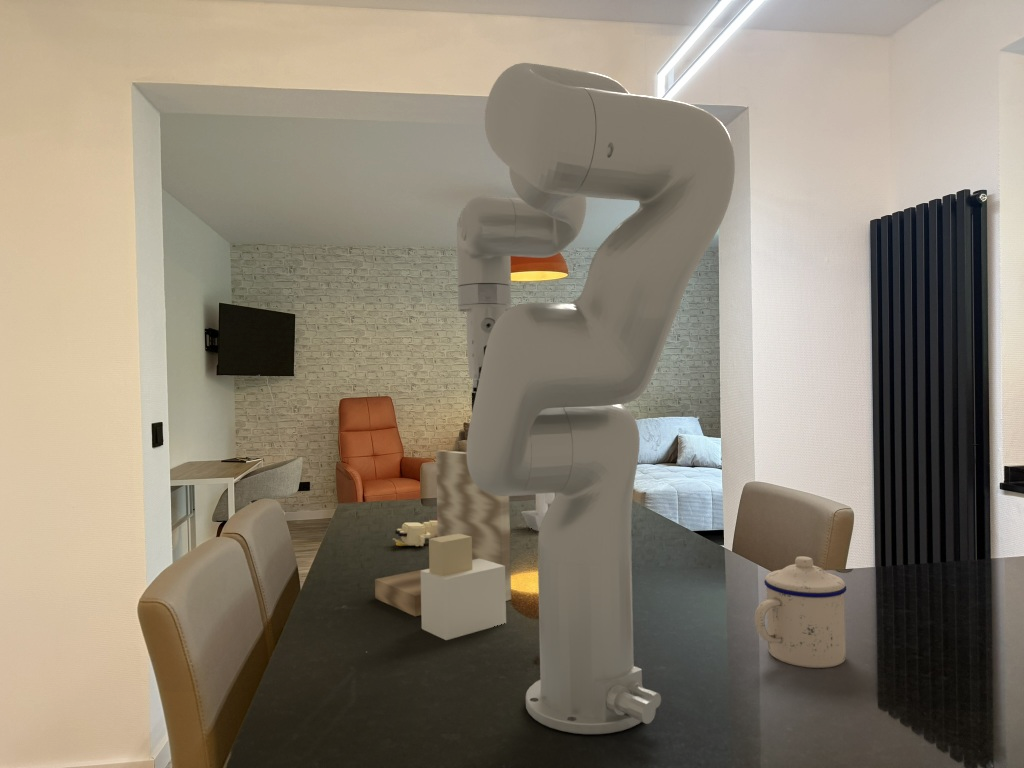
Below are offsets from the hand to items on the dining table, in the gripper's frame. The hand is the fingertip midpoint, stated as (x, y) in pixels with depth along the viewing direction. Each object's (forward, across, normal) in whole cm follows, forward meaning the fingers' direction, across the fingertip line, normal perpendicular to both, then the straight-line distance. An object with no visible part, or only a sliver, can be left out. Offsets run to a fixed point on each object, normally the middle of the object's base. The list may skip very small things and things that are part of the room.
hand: (486, 421), depth 102 cm
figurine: (+29, +61, -19) cm, 70 cm away
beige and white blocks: (+28, -2, +4) cm, 28 cm away
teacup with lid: (+28, -22, -34) cm, 49 cm away
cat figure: (+29, +52, +2) cm, 60 cm away
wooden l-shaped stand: (+28, +12, +7) cm, 31 cm away
